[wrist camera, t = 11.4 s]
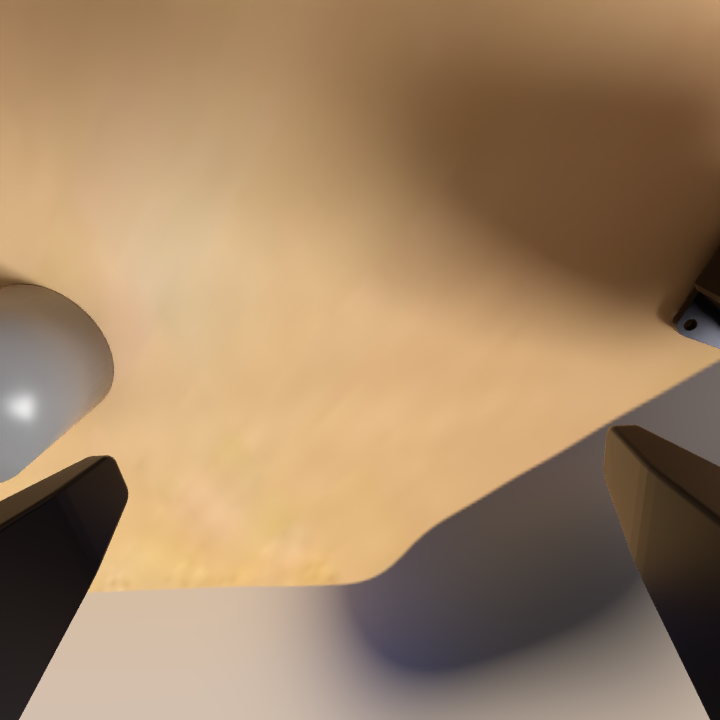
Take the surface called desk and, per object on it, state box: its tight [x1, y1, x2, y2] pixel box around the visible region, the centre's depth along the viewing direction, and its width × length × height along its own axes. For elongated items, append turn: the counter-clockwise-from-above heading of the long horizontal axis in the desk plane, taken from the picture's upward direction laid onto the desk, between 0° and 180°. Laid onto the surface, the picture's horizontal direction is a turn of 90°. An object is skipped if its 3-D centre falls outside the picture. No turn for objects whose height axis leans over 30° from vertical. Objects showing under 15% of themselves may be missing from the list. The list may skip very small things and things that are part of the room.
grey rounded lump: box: [0, 284, 114, 483], centre depth 21 cm, size 7×7×6 cm
